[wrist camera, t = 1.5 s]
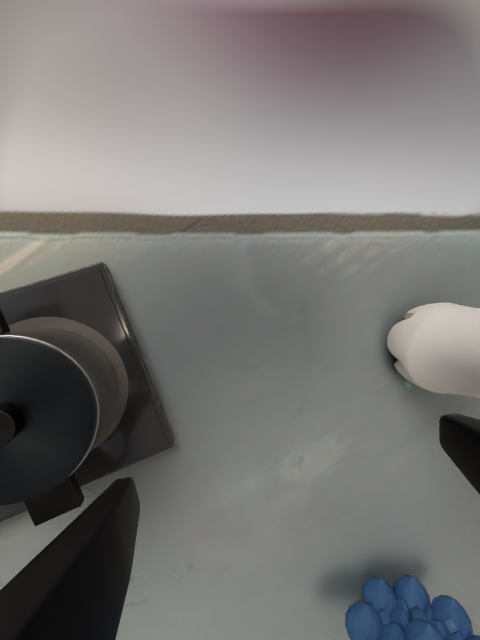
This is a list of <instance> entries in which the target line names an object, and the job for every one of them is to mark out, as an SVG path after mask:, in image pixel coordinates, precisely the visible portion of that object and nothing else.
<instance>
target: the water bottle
mask: <svg viewBox="0 0 480 640" xmlns="http://www.w3.org/2000/svg"><path fill="white" fill-rule="evenodd" d="M404 319H405V320H402V321H400V322H398V323H397V324H395V325H394V326H393V327H392V329H391V330H390V332H389V333H388V337H387V347H388V349H389V351H390V352H391V353H392V355H393V356H395V357H396V358H397V359H398V361H397V362H396V363H395V364H394V366H395V367H396V369H397V371H398V372H399V373H400V374H401V375H402V376H403V377H404V378H405V379H407V380H408V381H410V382H411V383H413V384H414V385H416V386H419V387H421V388H423V389H426V390H428V391H432V392H436V393H444V394H457V395H465V396H471V397H477V398H480V308H472V307H467V306H461V305H457V304H454V303H432V304H426V305H422V306H419V307H416V308H413V309H411V310H410V311H408V312H407V313H406V314H405V315H404Z"/></svg>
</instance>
